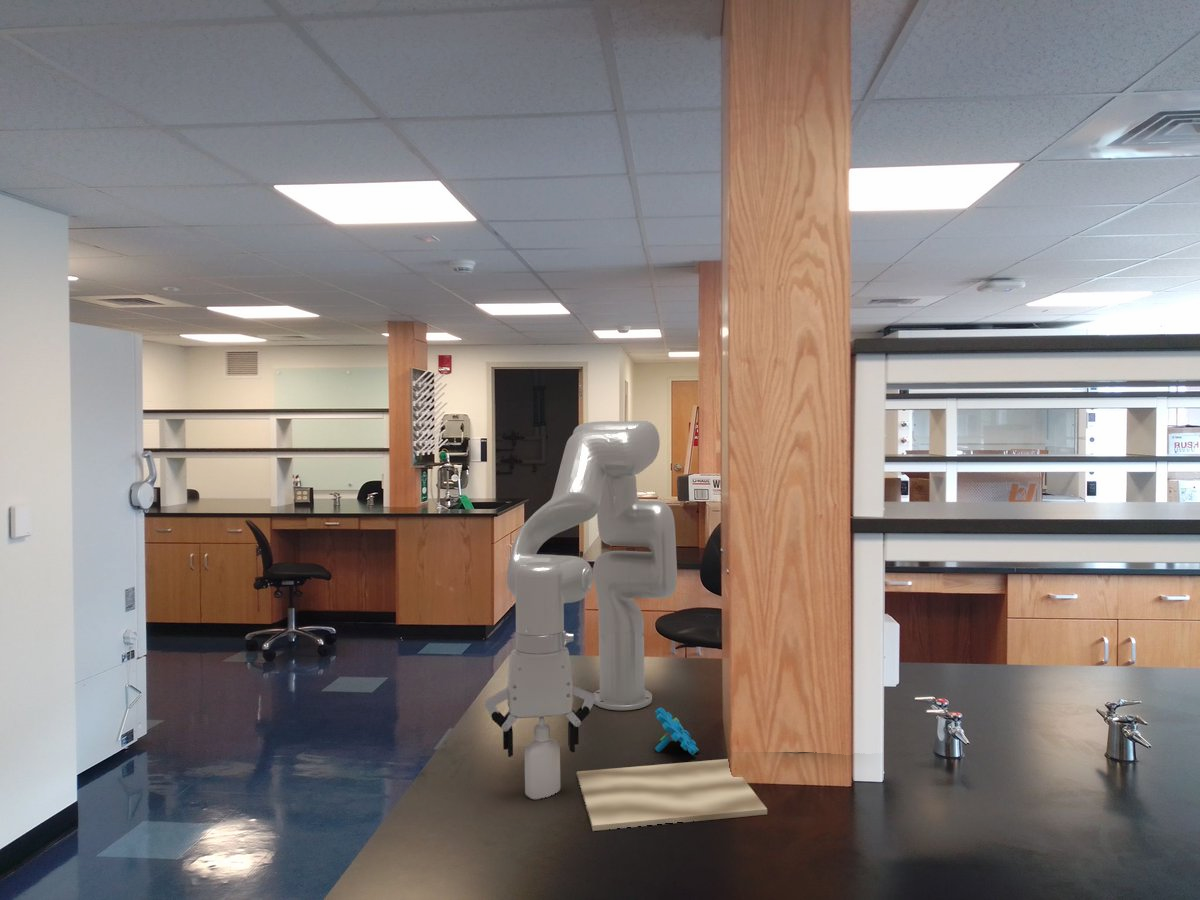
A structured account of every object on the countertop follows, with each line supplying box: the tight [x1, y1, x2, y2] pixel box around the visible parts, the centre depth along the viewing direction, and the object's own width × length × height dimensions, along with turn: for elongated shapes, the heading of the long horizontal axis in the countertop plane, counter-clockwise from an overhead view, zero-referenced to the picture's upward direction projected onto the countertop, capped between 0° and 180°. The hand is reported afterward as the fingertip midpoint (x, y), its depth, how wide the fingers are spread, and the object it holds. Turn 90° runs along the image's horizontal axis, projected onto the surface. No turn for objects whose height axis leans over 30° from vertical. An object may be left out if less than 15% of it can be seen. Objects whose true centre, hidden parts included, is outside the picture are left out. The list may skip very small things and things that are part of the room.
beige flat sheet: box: [576, 758, 768, 832], centre depth 122 cm, size 18×26×1 cm
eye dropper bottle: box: [524, 717, 562, 800], centre depth 123 cm, size 4×6×12 cm
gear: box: [654, 707, 699, 756], centre depth 139 cm, size 11×6×10 cm
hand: (541, 751), depth 122 cm, fingers open, 9 cm apart
